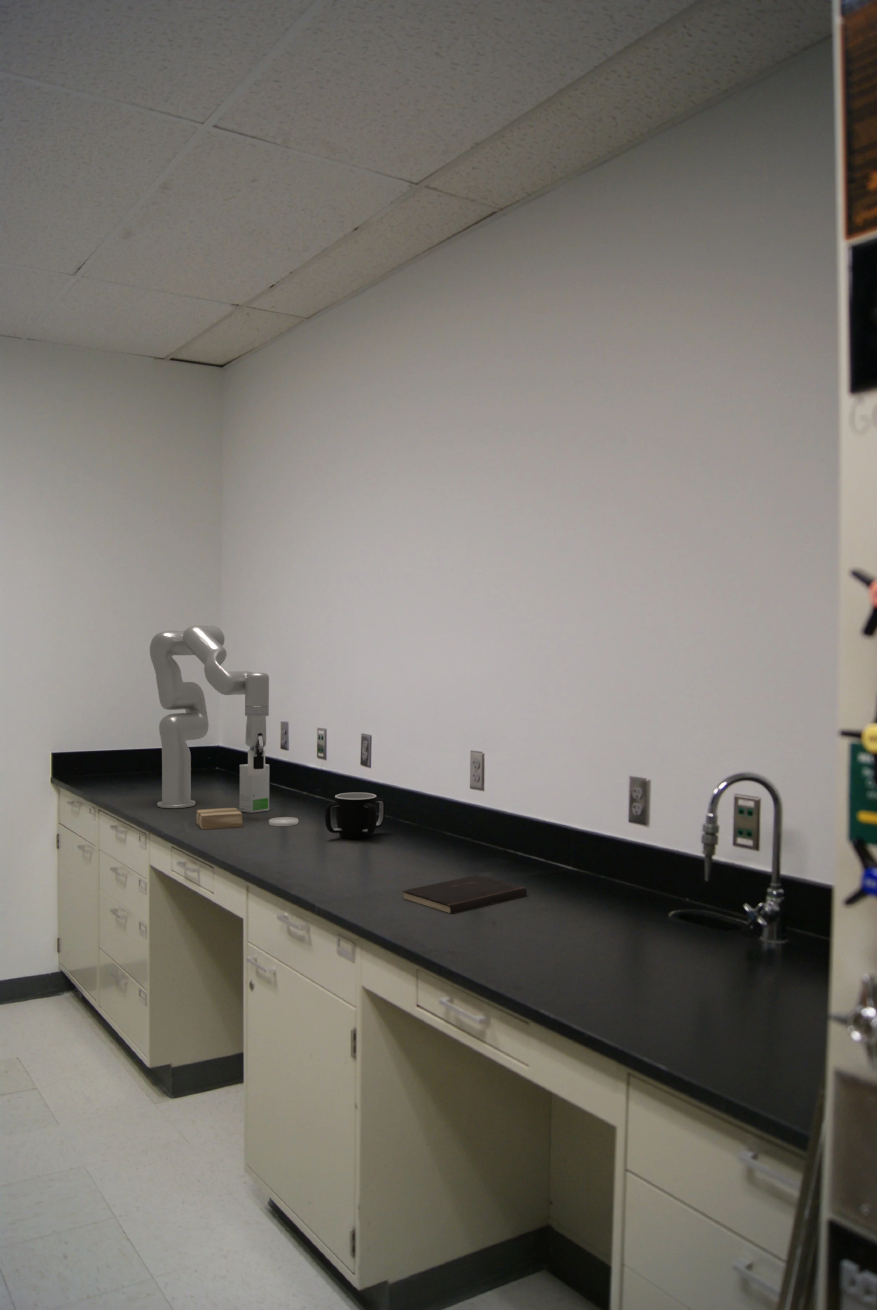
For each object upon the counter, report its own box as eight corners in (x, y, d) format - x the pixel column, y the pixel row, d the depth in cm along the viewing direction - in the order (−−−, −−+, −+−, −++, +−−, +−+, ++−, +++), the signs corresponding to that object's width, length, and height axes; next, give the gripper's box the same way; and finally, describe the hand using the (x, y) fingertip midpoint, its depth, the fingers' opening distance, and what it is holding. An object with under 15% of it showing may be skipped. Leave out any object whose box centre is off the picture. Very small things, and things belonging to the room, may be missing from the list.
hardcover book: (402, 901, 215) (402, 890, 214) (477, 884, 230) (477, 874, 230) (450, 916, 202) (450, 905, 202) (527, 898, 218) (527, 887, 218)
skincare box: (251, 813, 319) (251, 766, 319) (237, 811, 323) (238, 764, 323) (270, 810, 326) (270, 763, 326) (256, 808, 330) (257, 762, 330)
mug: (390, 833, 288) (391, 792, 288) (372, 843, 273) (373, 801, 272) (339, 829, 292) (339, 790, 292) (318, 840, 277) (318, 798, 277)
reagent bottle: (246, 774, 313) (246, 745, 313) (262, 773, 315) (263, 745, 315) (249, 776, 308) (250, 747, 308) (266, 775, 310) (266, 747, 310)
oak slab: (196, 822, 303) (196, 809, 303) (235, 820, 307) (235, 807, 307) (202, 829, 292) (202, 816, 292) (242, 826, 296) (242, 813, 296)
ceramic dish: (266, 822, 304) (266, 818, 304) (294, 820, 308) (294, 816, 308) (272, 827, 296) (272, 823, 296) (301, 825, 299) (301, 821, 299)
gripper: (239, 709, 317) (239, 765, 318) (250, 713, 302) (250, 771, 302) (262, 709, 320) (262, 764, 320) (274, 713, 304) (274, 770, 305)
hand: (256, 767), depth 311 cm, fingers closed on reagent bottle, 5 cm apart
